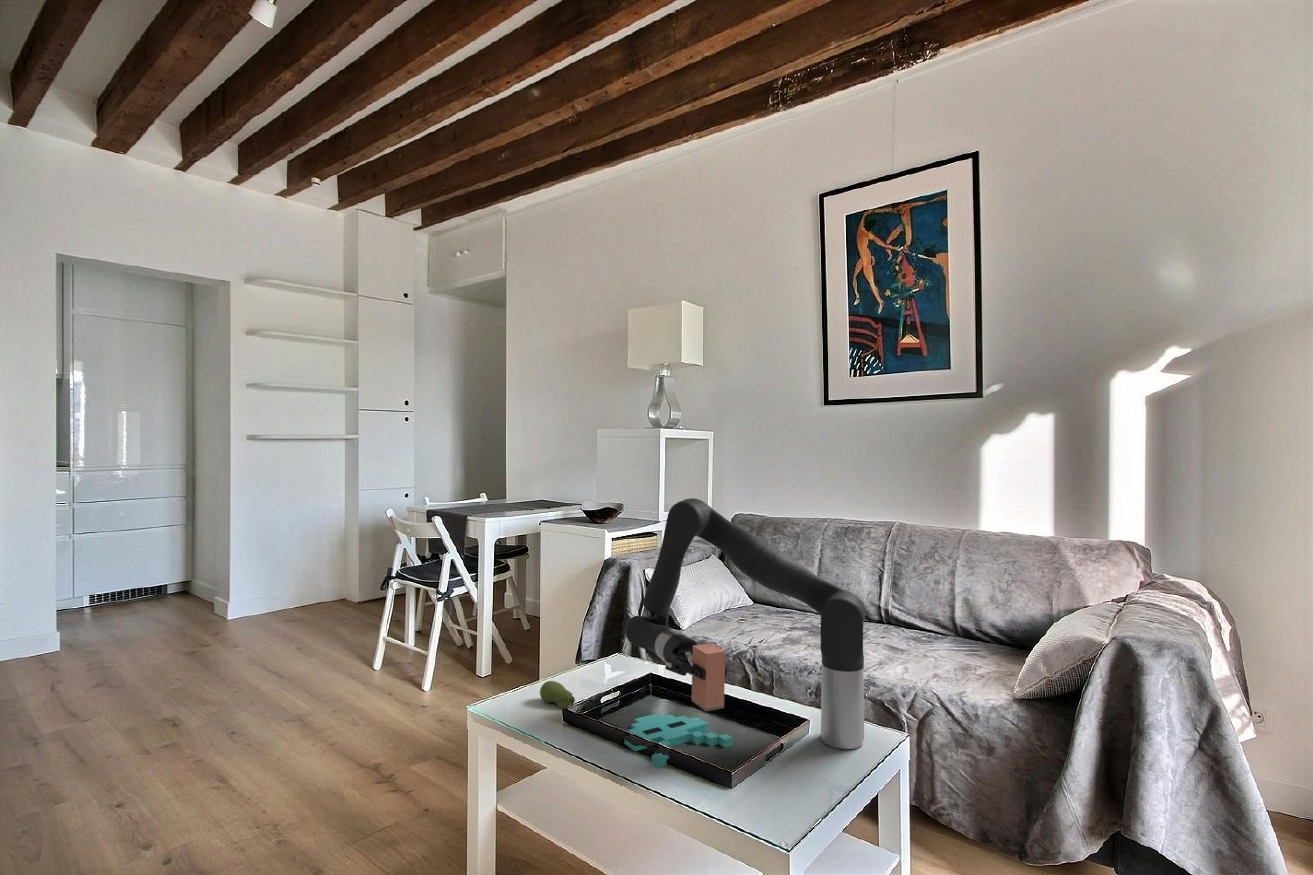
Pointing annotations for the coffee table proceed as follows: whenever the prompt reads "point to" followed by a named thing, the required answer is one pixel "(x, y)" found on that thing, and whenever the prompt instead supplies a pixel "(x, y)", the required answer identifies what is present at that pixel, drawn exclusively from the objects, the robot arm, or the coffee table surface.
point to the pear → (556, 694)
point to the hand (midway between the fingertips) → (714, 673)
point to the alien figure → (674, 733)
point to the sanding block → (709, 677)
